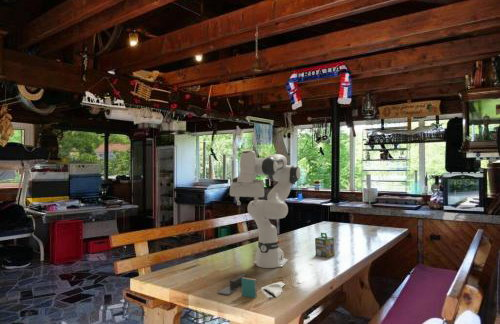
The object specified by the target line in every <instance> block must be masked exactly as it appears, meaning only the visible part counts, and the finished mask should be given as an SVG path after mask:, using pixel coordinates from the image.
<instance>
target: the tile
mask: <svg viewBox="0 0 500 324" xmlns="http://www.w3.org/2000/svg"><path fill="white" fill-rule="evenodd" d="M257 288H258V286H257V279H256V278H251V277H247V278H246V277H243V278H242V286H241V296H243V297H247V298H252V299H253V298H254V299H255V298H257V296H258V295H257V294H258V291H257Z"/></svg>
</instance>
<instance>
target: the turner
mask: <svg viewBox="0 0 500 324" xmlns="http://www.w3.org/2000/svg"><path fill="white" fill-rule="evenodd" d="M247 276H248V275H247V274H244V273H243V274H240V275H238V276H236V277H234V278H232V279H231V280H230V279H229V286H225V287H224V288H223V289H220V290H218V291H217V294H218V295H222V296H231V295H232V294H234V293H235V292H237V291H238V289H239V288H240V287H242V278H243V277H246V278H248V277H247Z"/></svg>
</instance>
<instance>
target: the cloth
mask: <svg viewBox="0 0 500 324" xmlns="http://www.w3.org/2000/svg"><path fill="white" fill-rule="evenodd" d="M285 285H287V284H285V283H284V282H283V281H282V280H281V281H277V282H273V283H270V284H267V285H265V286H261V287H260V290H261V291H262V293H263V295H264V296H265V297H266V298H267V300H269V301H270V298H273V297H275V298H277V297H278V296H280V295H281V294H282V293H283V287H284V286H285ZM281 292H282V293H281Z"/></svg>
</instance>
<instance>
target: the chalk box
mask: <svg viewBox="0 0 500 324" xmlns="http://www.w3.org/2000/svg"><path fill="white" fill-rule="evenodd" d="M314 243H315V244H314V245H315V246H314V247H315V256H319V257H323V258H329V257H332V256H335V254H336V253H335V252H336V251H335V238H334V237H331V236H327V233H326V232H320V236H318V237H315V238H314Z"/></svg>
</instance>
